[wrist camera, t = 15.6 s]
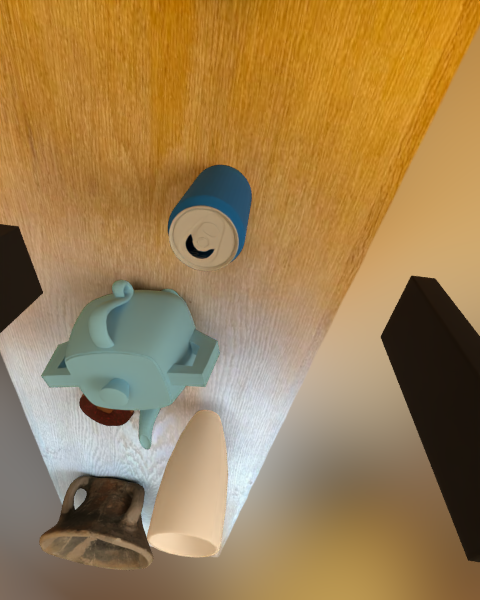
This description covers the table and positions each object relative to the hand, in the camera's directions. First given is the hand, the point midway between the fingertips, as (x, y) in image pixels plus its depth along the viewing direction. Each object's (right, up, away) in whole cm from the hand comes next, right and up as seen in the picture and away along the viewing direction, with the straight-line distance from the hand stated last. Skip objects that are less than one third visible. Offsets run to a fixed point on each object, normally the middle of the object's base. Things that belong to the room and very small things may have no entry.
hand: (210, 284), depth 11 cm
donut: (-24, -19, +48) cm, 57 cm away
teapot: (-12, -4, +36) cm, 38 cm away
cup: (-5, -20, +46) cm, 51 cm away
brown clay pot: (-32, -52, +73) cm, 95 cm away
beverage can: (-1, +11, +23) cm, 26 cm away
